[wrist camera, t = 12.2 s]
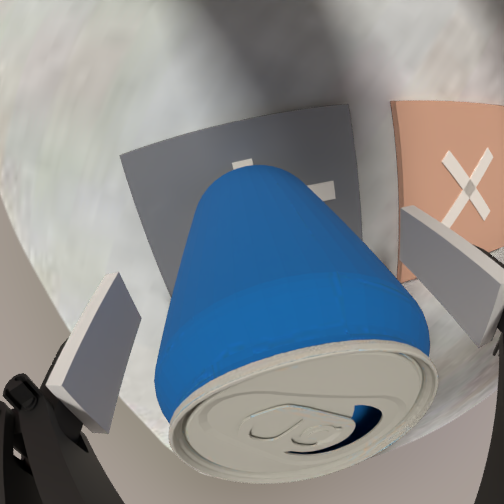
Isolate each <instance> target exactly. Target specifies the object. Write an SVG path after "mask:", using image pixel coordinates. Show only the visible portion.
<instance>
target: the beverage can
mask: <svg viewBox="0 0 504 504" xmlns="http://www.w3.org/2000/svg"><path fill="white" fill-rule="evenodd" d="M429 351H430V339H429V331H428V326H427V323H426V320H425V317H424V314H423V312H422V310H421V309H420V307H419V305H418V304H417V302H416V301H415V300H414V299H413V297H412V296H411V295H410V294H409V293H408V291H407V290H406V289H405V288H404V287H403V286H402V284H401V283H400V282H399V281H398V280H397V279H396V278H395V276H394V275H393V274H392V273H391V272H390V271H389V270H388V269H387V267H386V266H385V265H384V264H383V263H382V262H381V261H380V260H379V259H378V257H377V256H376V255H375V254H374V253H373V252H372V251H371V250H370V249H369V248H368V247H367V246H366V245H365V243H364V242H363V241H362V240H361V239H360V238H359V237H358V236H357V235H356V234H355V233H354V232H353V231H352V230H351V229H350V228H349V227H348V226H347V225H346V224H345V223H344V222H343V221H342V220H341V219H340V218H339V217H338V216H337V215H336V214H335V213H334V212H333V211H332V210H331V209H330V208H329V207H328V206H327V205H326V204H325V203H324V202H323V201H322V200H321V199H320V198H319V197H318V196H317V195H316V194H315V193H314V192H313V191H312V190H311V189H310V188H309V187H308V186H307V185H305V184H304V183H303V182H302V181H301V180H300V179H299V178H297V177H296V176H295V175H293V174H291V173H290V172H288V171H285V170H283V169H281V168H277V167H274V166H268V165H250V166H244V167H240V168H237V169H234V170H232V171H229V172H228V173H226V174H224V175H222V176H221V177H219V178H218V179H217V180H216V181H214V182H213V183H212V184H211V185H210V186H209V187H208V188H207V190H206V191H205V192H204V194H203V195H202V197H201V199H200V201H199V203H198V205H197V208H196V211H195V214H194V217H193V221H192V224H191V227H190V231H189V234H188V238H187V241H186V245H185V248H184V252H183V256H182V259H181V263H180V267H179V270H178V274H177V278H176V282H175V286H174V290H173V294H172V298H171V302H170V306H169V310H168V314H167V318H166V323H165V327H164V331H163V336H162V340H161V345H160V349H159V354H158V359H157V364H156V369H155V379H154V382H155V390H156V396H157V400H158V402H159V405H160V408H161V410H162V413H163V414H164V416H165V417H166V419H167V420H168V422H169V423H170V427H169V436H168V437H169V443H170V446H171V448H172V450H173V452H174V453H175V454H176V455H177V457H178V458H180V460H182V461H183V462H184V463H186V464H187V465H188V466H190V467H192V468H193V469H195V470H197V471H200V472H202V473H204V474H207V475H210V476H213V477H216V478H220V479H224V480H229V481H235V482H243V483H259V484H269V483H286V482H294V481H301V480H306V479H311V478H316V477H320V476H324V475H327V474H331V473H334V472H337V471H340V470H343V469H346V468H348V467H351V466H353V465H355V464H358V463H360V462H362V461H364V460H366V459H368V458H370V457H372V456H374V455H376V454H378V453H379V452H381V451H383V450H384V449H386V448H388V447H389V446H391V445H392V444H393V443H395V442H396V441H398V440H399V439H400V438H401V437H403V436H404V435H405V434H406V433H407V432H409V431H410V430H411V429H412V428H413V427H414V426H415V425H416V424H417V423H418V422H419V420H420V419H421V418H422V417H423V416H424V414H425V413H426V412H427V410H428V409H429V407H430V405H431V404H432V402H433V400H434V397H435V395H436V392H437V388H438V374H437V370H436V368H435V365H434V364H433V362H432V361H431V359H430V358H429Z"/></svg>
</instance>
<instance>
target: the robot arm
mask: <svg viewBox="0 0 504 504" xmlns="http://www.w3.org/2000/svg"><path fill="white" fill-rule="evenodd" d="M399 260H400V261H401V262H402V263H403V264H404V265H405V266H406V267H407V268H408V269H409V270H410V271H411V272H412V273H413V274H414V275H415V276H416V277H417V278H418V279H419V280H420V281H421V282H422V283H423V285H424V286H425V287H426V288H427V289H428V290H429V291H430V292H431V293H432V294H433V295H434V296H435V297H436V299H437V300H438V301H439V302H440V303H441V304H442V305H443V306H444V308H445V309H446V310H447V311H448V312H449V313H450V314H451V315H452V317H453V318H454V319H455V320H456V321H457V322H458V324H459V325H460V326H461V327H462V328H463V330H464V331H465V332H466V333H467V334H468V336H469V337H470V338H471V339H472V341H473V342H474V343H475V344H476V346H477V347H478V348H480V347H481V346H483V345H485V344H487V343H488V342H490V341H492V339H493V337H494V334H495V332H496V329H497V328H498V329H499V330H500V331H501V332H502V333H501V336H500V338H499V340H498V343H497V345H496V347H495V349H494V352H493V355H494V356H495V355H496V353H497V351H498V349H499V378H498V393H497V404H496V413H495V419H494V426H493V432H492V438H491V443H490V448H489V453H488V458H487V462H486V466H485V470H484V473H483V477H482V481H481V484H480V487H479V491H478V494H477V497H476V500H475V503H474V504H504V264H503V263H501V262H499V261H498V260H497V259H496V258H495V257H494V256H493V257H492V255H491V254H490V253H488V252H487V251H486V250H484V249H482V248H480V247H478V246H475V245H472V244H471V243H470V242H468V241H467V240H465V239H464V238H463V237H461V236H460V235H458V234H457V233H455V232H454V231H453V230H451V229H450V228H448V227H447V226H445V225H444V224H442V223H441V222H439V221H438V220H436V219H435V218H433V217H431V216H430V215H428V214H427V213H425V212H424V211H422V210H420V209H419V208H417V207H416V206H414V205H411V206H406V207H402V208H400V255H399ZM141 319H142V318H141V316H140V314H139V312H138V310H137V308H136V306H135V304H134V302H133V300H132V298H131V296H130V294H129V292H128V290H127V288H126V286H125V284H124V282H123V280H122V278H121V276H120V273H119V272H115V273H111V274H107V275H105V276H104V278H103V279H102V281H101V283H100V284H99V286H98V288H97V289H96V291H95V292H94V294H93V296H92V297H91V299H90V301H89V303H88V304H87V306H86V308H85V309H84V311H83V313H82V315H81V316H80V318H79V320H78V322H77V324H76V325H75V327H74V329H73V331H72V333H71V335H70V337H69V338H68V339H67V340H66V341H65V342H64V343H63V344H62V345H61V347H60V349H59V351H58V352H57V354H56V357H55V358H54V360H53V362H52V365H51V366H50V368H49V370H48V372H47V374H46V377H45V379H44V381H43V383H42V385H41V387H40V389H38V387H37V386H36V385H35V384H34V383H33V382H32V381H31V379H30V378H29V377H28V376H27V375H26V374H24V373H23V374H18V375H16V376H14V377H13V378H12V379H11V380H9V382H8V383H7V384H6V386H5V388H4V391H3V397H4V398H5V399H6V400H7V401H8V402H9V403H10V404H11V405H12V406H13V407H14V409H10V408H9V407H8V406H7V405H6V404H5V403H4V402H2V401H0V504H125V503H124V502H123V501H122V499H121V497H120V496H119V494H118V493H117V491H116V490H115V488H114V486H113V485H112V483H111V482H110V480H109V478H108V477H107V475H106V473H105V472H104V470H103V468H102V466H101V464H100V463H99V461H98V459H97V457H96V455H95V453H94V451H93V449H92V447H91V445H90V443H89V441H88V439H87V437H86V436H85V434H84V433H83V432H81V429H82V425H83V424H84V425H85V426H86V427H87V428H88V429H89V430H90V431H91V432H92V433H106V434H108V433H109V430H110V426H111V422H112V418H113V414H114V410H115V406H116V402H117V398H118V395H119V391H120V387H121V384H122V380H123V376H124V373H125V370H126V366H127V363H128V359H129V356H130V353H131V350H132V346H133V343H134V340H135V337H136V334H137V331H138V328H139V325H140V322H141ZM13 448H14V449H15V450H16V451H18V452H19V453H20V454H21V460H20V459H18V458H17V457H16V456H14V455H13Z"/></svg>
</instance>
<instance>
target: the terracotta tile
mask: <svg viewBox="0 0 504 504" xmlns="http://www.w3.org/2000/svg"><path fill="white" fill-rule="evenodd" d="M390 102H391V109H392V117H393V125H394V133H395V143H396V154H397V168H398V188H399V251H398V271H397V279H398V280H399V281H400V283H402V282H406V281H409V280H412V279H415V278H417V277H416V276H415V275H414V274H413V273H412V272H411V271H410V270H409V269H408V268H407V267H406V266H405V265H404V264H403V263H402V262H401V261H400V260H399V255H400V208H402V207H406V206H411V205H414V206H416V207H417V208H419V209H420V210H422V211H424V212H425V213H427V214H428V215H430V216H431V217H433V218H435V219H436V220H438V221H439V222H441V223H442V224H444V225H445V226H447V227H448V228H450V229H451V230H453V231H454V232H455V233H457V234H458V235H460V236H461V237H463V238H464V239H465V240H467V241H468V242H470V243H471V244H472V245H475V246H478V247H480V248H482V249H484V250H486V251H487V252H491V251H493V250H496V249H498V248H501V247H503V246H504V106H500V105H492V104H482V103H470V102H455V101H390Z"/></svg>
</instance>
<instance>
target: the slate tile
mask: <svg viewBox="0 0 504 504" xmlns="http://www.w3.org/2000/svg"><path fill="white" fill-rule="evenodd" d="M120 159H121V162H122V165H123V169H124V172H125V175H126V178H127V181H128V184H129V188H130V191H131V194H132V197H133V200H134V203H135V206H136V208H137V211H138V214H139V217H140V220H141V223H142V225H143V228H144V231H145V234H146V236H147V239H148V242H149V244H150V247H151V249H152V252H153V255H154V257H155V260H156V262H157V265H158V267H159V270H160V272H161V275H162V277H163V280H164V282H165V284H166V287H167V289H168V291H169V294H170V296H171V298H172V294H173V290H174V286H175V282H176V278H177V274H178V270H179V267H180V263H181V259H182V256H183V252H184V248H185V245H186V241H187V238H188V234H189V231H190V227H191V224H192V221H193V217H194V214H195V211H196V208H197V205H198V203H199V201H200V199H201V197H202V195H203V194H204V192H205V191H206V190H207V188H208V187H209V186H210V185H211V184H212V183H213V182H214V181H216V180H217V179H218V178H219V177H221V176H222V175H224V174H226V173H228V172H229V171H232V170H234V169H237V168H240V167H244V166H250V165H268V166H274V167H277V168H281V169H283V170H285V171H288V172H290V173H291V174H293V175H295V176H296V177H297V178H299V179H300V180H301V181H302V182H303V183H304V184H305V185H307V186H308V187H309V188H310V189H311V190H312V191H313V192H314V193H315V194H316V195H317V196H318V197H319V198H320V199H321V200H322V201H323V202H324V203H325V204H326V205H327V206H328V207H329V208H330V209H331V210H332V211H333V212H334V213H335V214H336V215H337V216H338V217H339V218H340V219H341V220H342V221H343V222H344V223H345V224H346V225H347V226H348V227H349V228H350V229H351V230H352V231H353V232H354V233H355V234H356V235H357V236H358V237H359V238H360V239H361V240H362V221H361V205H360V192H359V181H358V171H357V162H356V154H355V146H354V138H353V131H352V124H351V118H350V112H349V106H348V104H340V105H331V106H322V107H314V108H307V109H300V110H293V111H287V112H281V113H275V114H269V115H264V116H259V117H254V118H249V119H244V120H239V121H235V122H230V123H226V124H222V125H218V126H213V127H209V128H206V129H202V130H198V131H194V132H190V133H187V134H183V135H180V136H176V137H173V138H170V139H166V140H163V141H160V142H157V143H154V144H151V145H147V146H144V147H141V148H139V149H136V150H133V151H130V152H127V153H124V154H122V155H120Z"/></svg>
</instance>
